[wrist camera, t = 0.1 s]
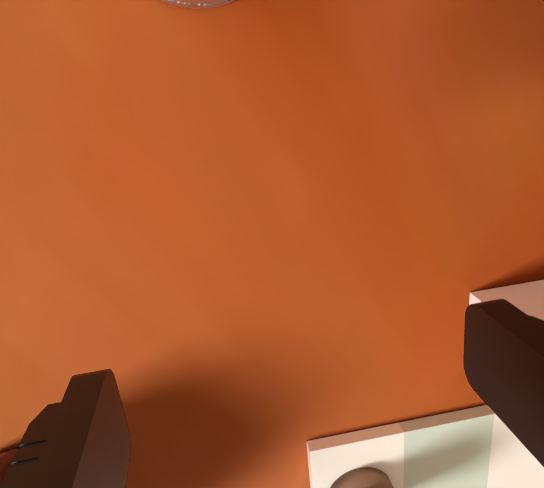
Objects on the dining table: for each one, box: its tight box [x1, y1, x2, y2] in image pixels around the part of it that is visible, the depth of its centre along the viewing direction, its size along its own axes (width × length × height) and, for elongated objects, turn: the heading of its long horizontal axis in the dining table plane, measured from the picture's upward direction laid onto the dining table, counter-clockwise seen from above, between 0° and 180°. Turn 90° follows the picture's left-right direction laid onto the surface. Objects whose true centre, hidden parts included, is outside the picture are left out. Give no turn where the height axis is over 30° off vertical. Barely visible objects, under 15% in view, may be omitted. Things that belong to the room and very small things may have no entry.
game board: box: [306, 405, 544, 488], centre depth 37 cm, size 10×28×1 cm, turn 96°
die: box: [469, 280, 544, 320], centre depth 30 cm, size 6×6×6 cm
